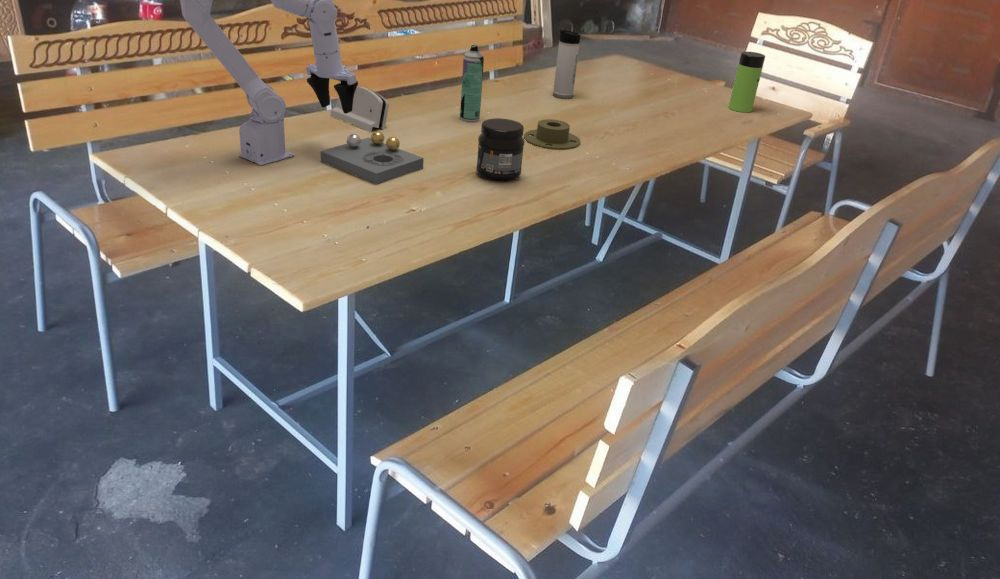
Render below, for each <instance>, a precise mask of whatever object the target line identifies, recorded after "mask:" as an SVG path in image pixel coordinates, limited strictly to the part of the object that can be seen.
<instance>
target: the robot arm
mask: <svg viewBox="0 0 1000 579" xmlns="http://www.w3.org/2000/svg"><path fill="white" fill-rule="evenodd" d="M213 1H214V0H179V3H180V8H181V14H182V17H183V19H184V20H185V22H186V23H187V24H188V25H189V26H190V27H191V28H192V30H193V31H194V33H195V34H196V35H197V36H198V37H199V38H200V40H201V41H202V42H203V43H204V44H205V45H206V47H207V48H208V49H209V50H210V52H211V53H212V54H213V55H214V56H215V58H216V59H217V60H218V61H219V62H220V64H221V65H222V66H223V67H224V69H225V70H226V71H227V73H229V75H230V76H231V77H232V79H234V81H235V82H236V83H237V84H238V86H239V87H240V88H241V90H242V91H243V92H244V94H245V96H246V97H245V98H246V101H247V103H248V106H250V107H251V108H252V109H251V113H250V115H249V117H250V118H249V119H248V120H247V121H244V122H243V123H241V124H240V126H239V142H240V153H239V154H238V155H239V157H241V158H243V159H245V160H248V161H250V162H252V163H254V162H255V163H254V164H257V165H258V166H259V165H260V166H262V165H264V166H265V165H266V164H270V163H274V162H277V161H281V160H284V159H289V158H293V157H294V156H295V153H293V152H290V151H288V150H286V135H285V120H284V119H285V118H284V115H285V113H286V110H287V106H286V101H285V100H284V99H283V97H282V96H280V95H279V94H278V93H277V92H275V90H274V89H273V87H271V86H270V85H269V84H267V83H265V82H264V81H263V80H262V79H261V77H260V76H259V75H258V73H257V72H256V71H255V70H254V69H253V68H252V66H251V65H250V64H249V62H248V61H247V60H246V58H245V57H244V56H243V55H242V53H241V52H240V51H239V50H238V49H237V47H236V46H235V45H234V43H233V42H232V41H231V39H230V38H229V37H228V36H227V34H226V33H225V32H224V31H223V29H222V28H221V26H219V24H218V23H217V21H215V19H214V18H213V17H212V16H211V11H212V5H213ZM270 1H271V3H272V5H273V7H274V8H275V9H278V10H282V11H284V12H286V13H287V12H288V13H290V14H293V15H295V16H297V17H301V18H307V19H308V25H309V29H310V30H309V31H310V37H311V43H312V49H313V55H314V61H315V64H314V63H312V64H309V65H306V66H305V69H306V74H307V76H310V77H308V78H307V79H306V83H308V85H309V87H311V89H312V90H313V91H314V94H315V96H316V98H317V100H318V102H319V105H320V106H321V108H326V107H328V106H330V105H331V96H330V79H331V80H334V81H339V83H337V84H334V85H333V88H334V90H335V91H336V93H337V95H338V99H339V98H340V101H341V105H342V109H343V112H344V113H345V114H347V113H349V112H351V111H352V107H353V98H354V94H355V90H356V88H357V86H358V85H359V81H358V80H357V75H356V74H355V73H353V72H351V71H349V70H348V69H347V67H346V65H343V62H342V56H341V49H340V45H339V44H340V41H339V38H338V31H337V27H336V19H337V18H338V8H336V5H335V3H334V2H333V1H332V0H270Z"/></svg>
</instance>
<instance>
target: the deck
mask: <svg viewBox="0 0 1000 579" xmlns="http://www.w3.org/2000/svg"><path fill="white" fill-rule="evenodd" d="M360 139H361V138H360ZM319 154H320V162H321V161H322V162H321V163H323V162H324V163H323V164H326V165H328V164H329V166H331V167H333V168H336V169H338V170H341V171H343V172H345V173H348V174H351V175H353V176H355V175H356V177H357V176H358V177H357V178H359V179H363V180H365V181H368V182H370V183H373V184H375V185H379V184H381V183H384V182H387V181H390V180H393V179H396V178H399V177H402V176H405V175H408V174H410V173H413V172H416V171H419V170H421V169H423V168H424V157H422V156H420V155H418V154H417V155H416V154H414V153H411V152H409V151H405V150H403V149H400V148H398V149H397V150H395V151H391V150H389V149H388V148H387V147H386V142H383V143H382V144H380V145H375V144H373V143H372V141H371V137H364V138H362V139H361V144H360V145H359V146H358V147H356V148H352V147H350V146H349V145H348V143H344V144H340V145H337V146H333V147H330V148H327V149H322V150H320V152H319Z"/></svg>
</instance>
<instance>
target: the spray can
mask: <svg viewBox="0 0 1000 579" xmlns="http://www.w3.org/2000/svg"><path fill="white" fill-rule="evenodd" d="M478 48H479V46H478V45H477V44H471V47H470V49H469V50H468V51H467V52H464V54H463V58H462V60H463V61H462V75H461V76H462V79H461V93H460V94H461V96H460V111H459V120H460V121H462V122H465V123H478V122H479V121H480V118H481V106H482V105H481V104H482V90H483V79H484V78H483V77H484V64H485V63H484V62H485V58H484V57H485V55H484V54H483V53H481V52H480V50H479V49H478Z"/></svg>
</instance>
